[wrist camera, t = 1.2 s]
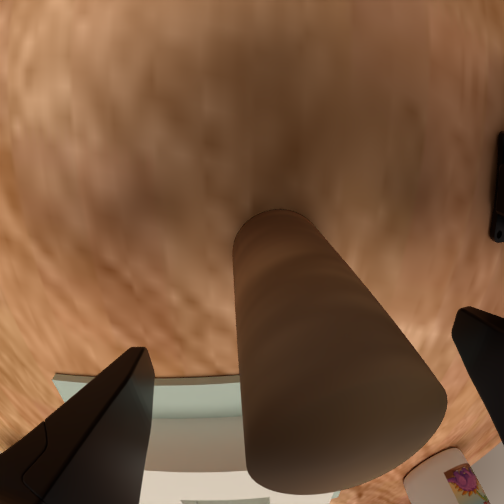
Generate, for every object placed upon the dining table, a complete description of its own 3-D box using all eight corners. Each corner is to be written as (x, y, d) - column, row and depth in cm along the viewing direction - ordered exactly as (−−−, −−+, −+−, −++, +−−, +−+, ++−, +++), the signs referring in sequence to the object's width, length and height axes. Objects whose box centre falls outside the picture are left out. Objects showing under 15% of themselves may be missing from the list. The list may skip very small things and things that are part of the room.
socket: (379, 355, 17) (411, 409, 13) (336, 492, 24) (346, 527, 20) (55, 373, 16) (28, 425, 12) (143, 503, 23) (139, 538, 19)
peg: (321, 206, 13) (474, 350, 4) (319, 288, 15) (413, 468, 6) (229, 212, 13) (235, 399, 4) (236, 296, 15) (252, 503, 5)
